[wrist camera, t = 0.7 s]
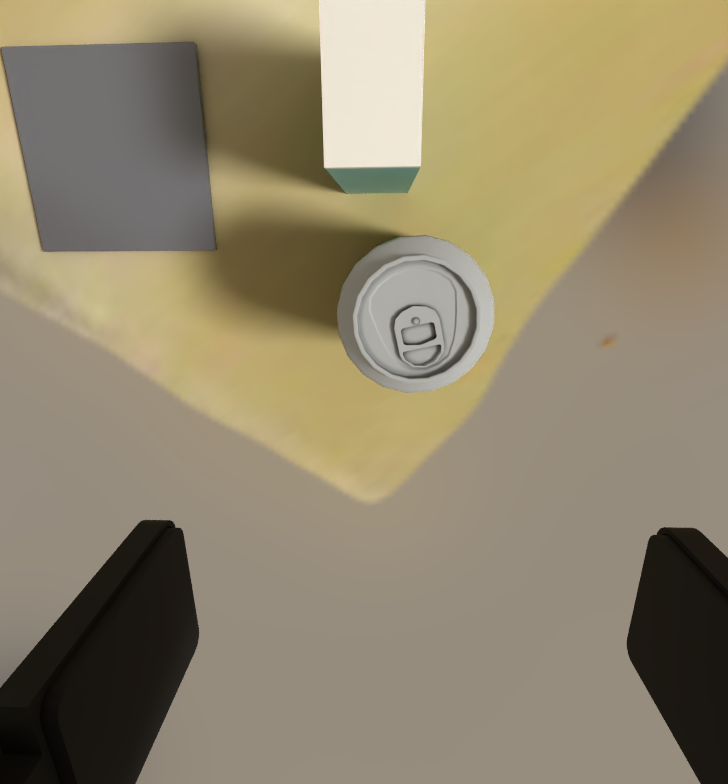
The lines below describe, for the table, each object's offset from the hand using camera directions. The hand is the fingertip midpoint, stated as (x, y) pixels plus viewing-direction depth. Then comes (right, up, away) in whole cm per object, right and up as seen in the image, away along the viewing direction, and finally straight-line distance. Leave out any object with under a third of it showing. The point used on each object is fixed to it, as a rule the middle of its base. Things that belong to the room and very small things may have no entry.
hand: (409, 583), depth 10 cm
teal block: (0, +20, +20) cm, 29 cm away
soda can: (+2, +11, +23) cm, 26 cm away
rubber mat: (-17, +19, +21) cm, 34 cm away
